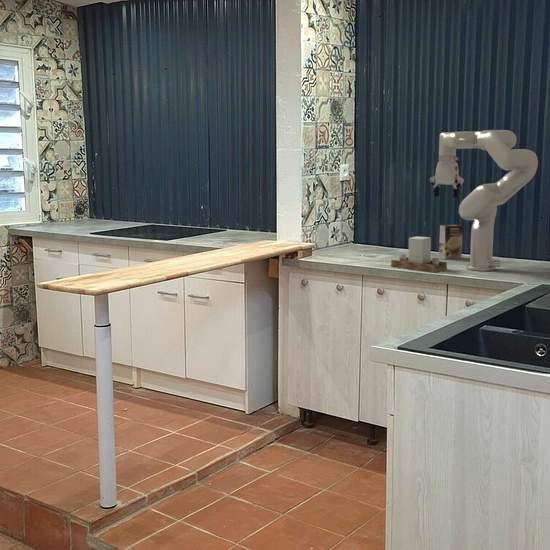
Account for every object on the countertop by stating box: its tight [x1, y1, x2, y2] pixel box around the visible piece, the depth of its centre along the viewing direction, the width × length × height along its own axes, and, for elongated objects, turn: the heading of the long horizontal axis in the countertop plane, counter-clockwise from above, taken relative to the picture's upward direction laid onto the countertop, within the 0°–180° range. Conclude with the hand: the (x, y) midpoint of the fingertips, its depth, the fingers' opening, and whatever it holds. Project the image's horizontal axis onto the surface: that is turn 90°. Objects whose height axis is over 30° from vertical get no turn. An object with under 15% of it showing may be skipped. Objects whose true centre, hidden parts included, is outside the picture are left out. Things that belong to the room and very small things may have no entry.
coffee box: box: [438, 224, 464, 260], centre depth 377 cm, size 9×6×16 cm
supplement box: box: [408, 235, 432, 264], centre depth 351 cm, size 7×7×13 cm
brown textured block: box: [390, 253, 448, 273], centre depth 352 cm, size 22×11×5 cm, turn 48°
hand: (446, 197), depth 363 cm, fingers open, 9 cm apart
